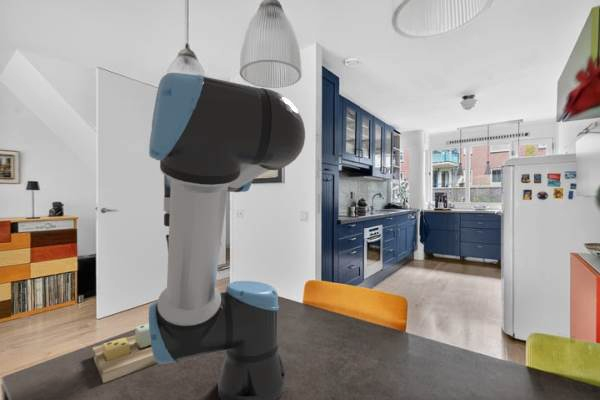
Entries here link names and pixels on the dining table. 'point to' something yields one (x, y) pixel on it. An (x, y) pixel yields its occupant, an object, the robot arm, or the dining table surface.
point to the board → (123, 361)
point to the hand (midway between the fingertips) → (178, 292)
